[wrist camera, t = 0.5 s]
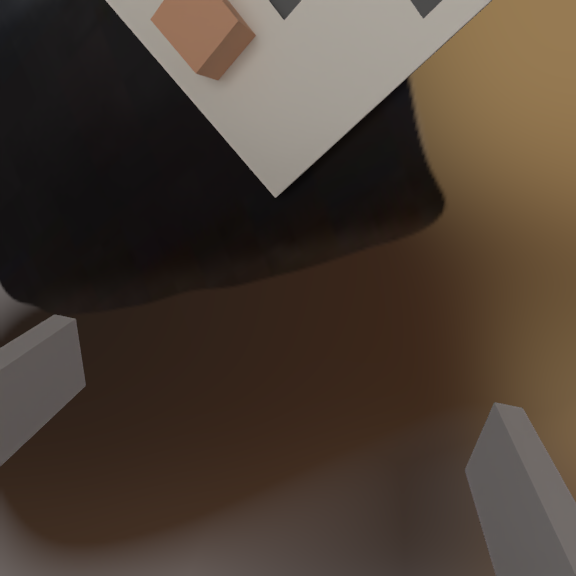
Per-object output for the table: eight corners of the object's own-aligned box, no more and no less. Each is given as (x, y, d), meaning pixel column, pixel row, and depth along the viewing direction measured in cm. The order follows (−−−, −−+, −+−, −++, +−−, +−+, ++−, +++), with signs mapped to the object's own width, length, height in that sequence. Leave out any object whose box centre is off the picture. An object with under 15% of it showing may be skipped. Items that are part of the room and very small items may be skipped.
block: (179, 34, 27) (150, 19, 23) (215, -16, 25) (190, -39, 22) (218, 80, 27) (195, 73, 24) (256, 35, 26) (238, 20, 22)
